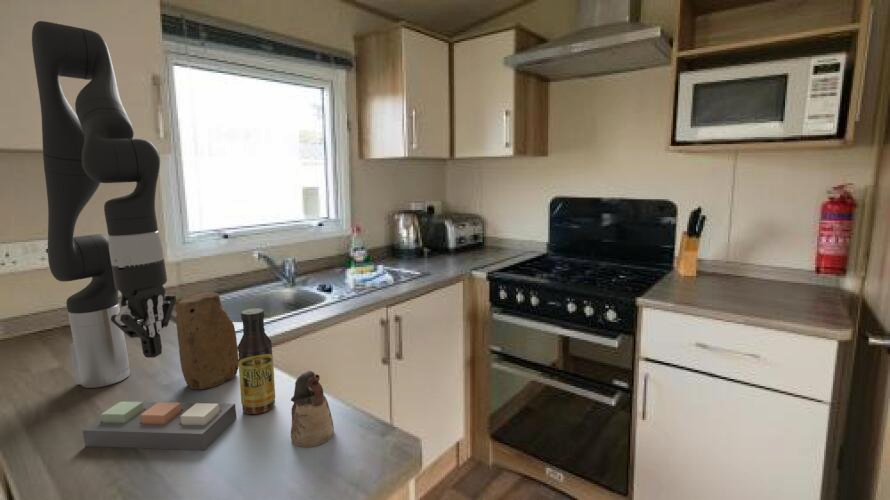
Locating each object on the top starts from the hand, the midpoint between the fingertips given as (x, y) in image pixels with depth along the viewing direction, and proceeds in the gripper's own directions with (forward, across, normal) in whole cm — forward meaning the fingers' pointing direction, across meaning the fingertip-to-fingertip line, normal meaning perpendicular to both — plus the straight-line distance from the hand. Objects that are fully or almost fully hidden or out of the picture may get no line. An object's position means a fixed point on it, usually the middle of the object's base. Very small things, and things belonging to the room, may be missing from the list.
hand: (153, 355), depth 82 cm
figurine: (+15, 0, +28) cm, 32 cm away
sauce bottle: (+15, -9, +14) cm, 22 cm away
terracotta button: (+12, 0, 0) cm, 12 cm away
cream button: (+12, 0, +7) cm, 14 cm away
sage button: (+12, 0, -8) cm, 14 cm away
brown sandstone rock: (+15, -20, -3) cm, 25 cm away
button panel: (+15, 0, 0) cm, 15 cm away
